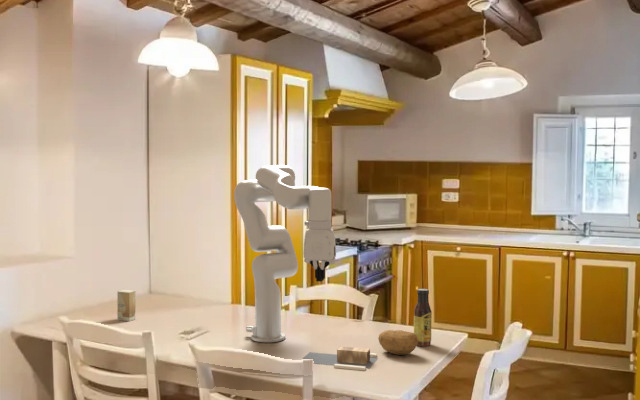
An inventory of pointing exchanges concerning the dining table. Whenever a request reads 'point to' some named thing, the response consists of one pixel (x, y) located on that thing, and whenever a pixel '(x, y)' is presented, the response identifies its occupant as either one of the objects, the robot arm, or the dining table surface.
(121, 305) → the skincare box
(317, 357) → the plate
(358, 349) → the oak block
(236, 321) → the dining table surface
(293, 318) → the dining table surface
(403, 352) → the potato
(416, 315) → the sauce bottle
